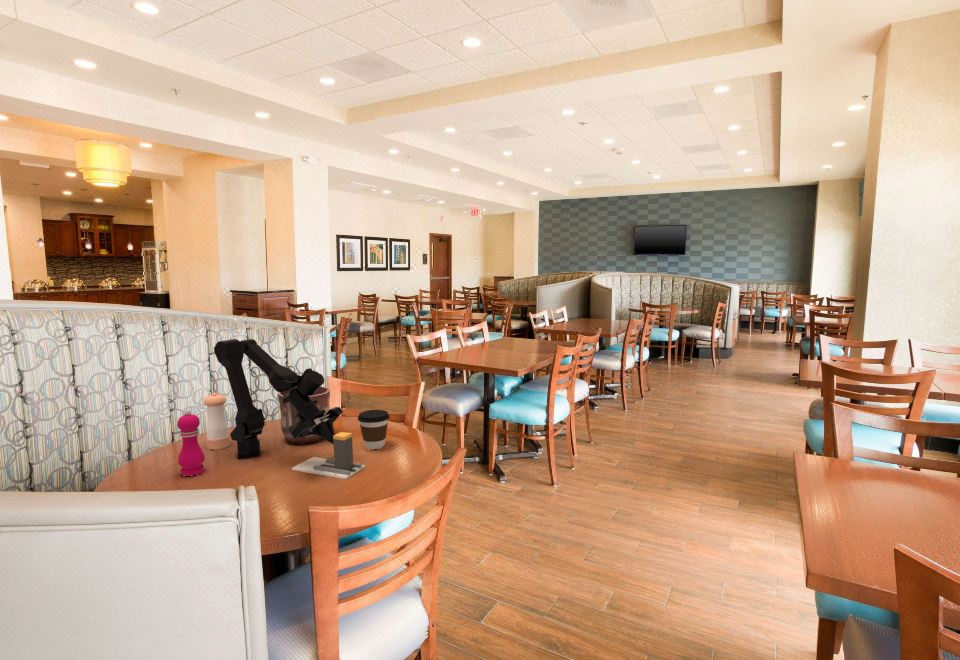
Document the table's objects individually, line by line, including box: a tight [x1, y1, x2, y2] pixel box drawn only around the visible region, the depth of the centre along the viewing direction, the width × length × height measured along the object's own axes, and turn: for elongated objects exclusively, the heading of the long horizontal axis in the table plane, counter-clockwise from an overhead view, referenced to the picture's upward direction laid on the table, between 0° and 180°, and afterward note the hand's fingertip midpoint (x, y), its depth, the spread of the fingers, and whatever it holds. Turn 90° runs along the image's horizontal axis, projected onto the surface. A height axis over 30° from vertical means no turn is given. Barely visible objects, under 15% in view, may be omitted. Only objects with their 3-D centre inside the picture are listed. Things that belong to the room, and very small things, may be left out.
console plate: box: [291, 456, 366, 480], centre depth 164 cm, size 20×10×2 cm, turn 68°
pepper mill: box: [176, 409, 206, 476], centre depth 160 cm, size 7×7×20 cm
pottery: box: [277, 385, 331, 445], centre depth 191 cm, size 18×18×18 cm
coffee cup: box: [357, 409, 391, 451], centre depth 182 cm, size 11×11×12 cm
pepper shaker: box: [203, 392, 231, 451], centre depth 184 cm, size 7×7×19 cm
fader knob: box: [333, 431, 354, 471], centre depth 161 cm, size 4×4×11 cm
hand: (334, 443), depth 162 cm, fingers closed
